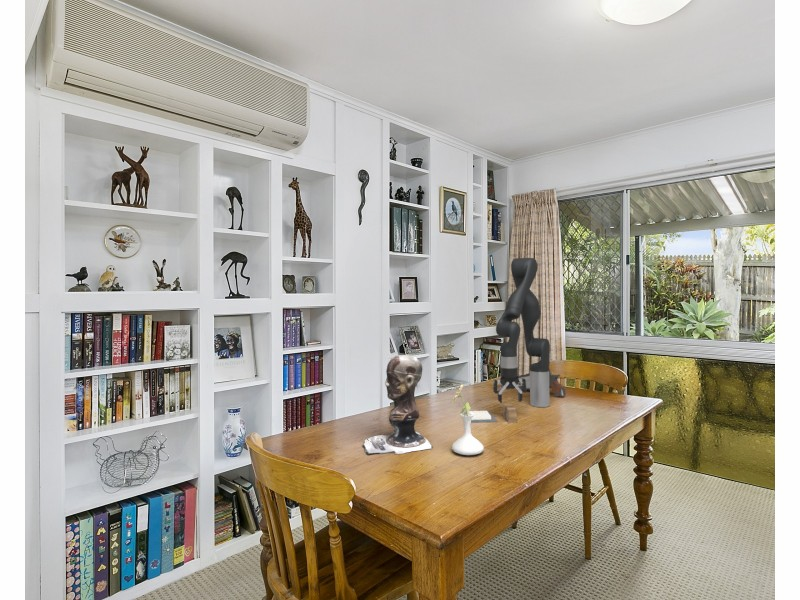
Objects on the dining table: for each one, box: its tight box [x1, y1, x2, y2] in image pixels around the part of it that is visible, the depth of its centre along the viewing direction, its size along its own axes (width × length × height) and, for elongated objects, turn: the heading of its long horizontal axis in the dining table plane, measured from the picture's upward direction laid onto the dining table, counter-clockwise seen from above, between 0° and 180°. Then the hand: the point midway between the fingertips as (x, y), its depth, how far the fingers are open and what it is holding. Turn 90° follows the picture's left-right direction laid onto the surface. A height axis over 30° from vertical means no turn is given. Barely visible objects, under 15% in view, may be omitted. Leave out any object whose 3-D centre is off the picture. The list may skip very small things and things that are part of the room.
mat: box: [471, 411, 498, 424], centre depth 203 cm, size 14×14×1 cm
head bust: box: [362, 354, 434, 456], centre depth 171 cm, size 22×25×35 cm
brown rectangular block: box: [502, 403, 518, 424], centre depth 199 cm, size 10×4×6 cm, turn 1°
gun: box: [517, 368, 567, 398], centre depth 247 cm, size 5×27×15 cm, turn 38°
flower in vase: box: [451, 384, 485, 456], centre depth 160 cm, size 13×11×25 cm
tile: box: [467, 410, 491, 421], centre depth 201 cm, size 2×9×9 cm
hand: (510, 402), depth 200 cm, fingers open, 8 cm apart
